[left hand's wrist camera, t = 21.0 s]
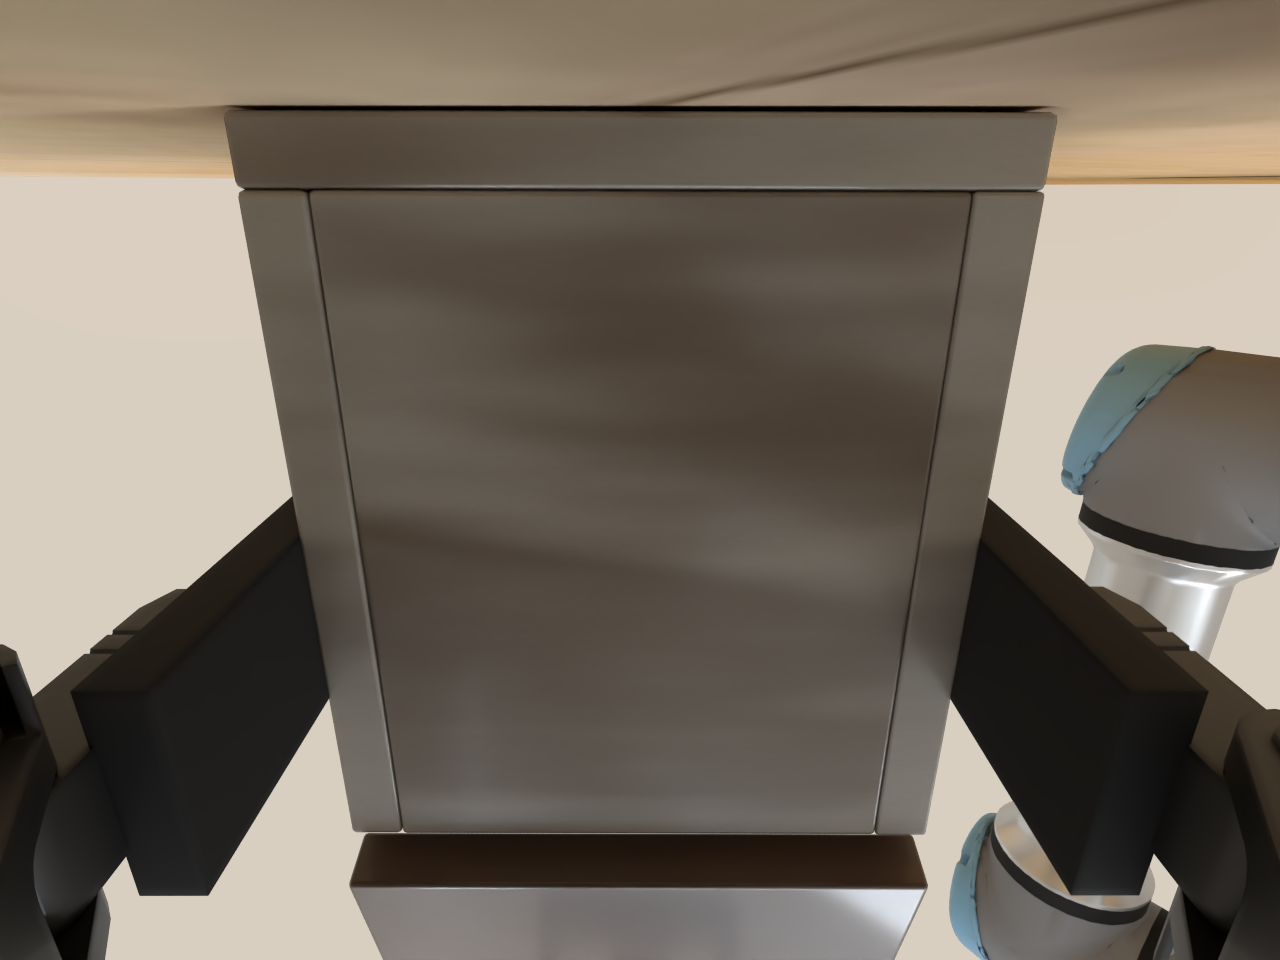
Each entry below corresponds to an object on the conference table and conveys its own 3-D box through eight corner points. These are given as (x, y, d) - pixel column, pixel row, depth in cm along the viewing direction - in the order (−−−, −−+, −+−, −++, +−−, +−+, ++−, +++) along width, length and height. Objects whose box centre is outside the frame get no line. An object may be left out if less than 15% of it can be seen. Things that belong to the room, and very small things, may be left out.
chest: (783, 167, 24) (763, 469, 28) (498, 166, 24) (516, 469, 28) (1062, 110, 8) (926, 835, 12) (219, 108, 8) (351, 834, 12)
